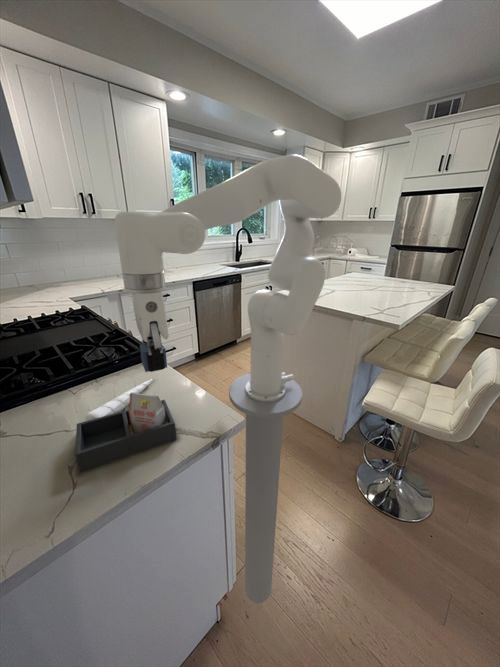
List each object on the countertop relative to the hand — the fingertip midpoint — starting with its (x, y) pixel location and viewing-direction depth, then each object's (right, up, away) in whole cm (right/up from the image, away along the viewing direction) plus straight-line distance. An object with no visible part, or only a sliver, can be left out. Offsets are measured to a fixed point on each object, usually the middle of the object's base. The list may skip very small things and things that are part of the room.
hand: (154, 363), depth 60 cm
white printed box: (-3, -16, +5) cm, 17 cm away
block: (0, 0, 0) cm, 0 cm away
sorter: (-7, -18, +3) cm, 19 cm away
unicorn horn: (-14, -13, +15) cm, 24 cm away
